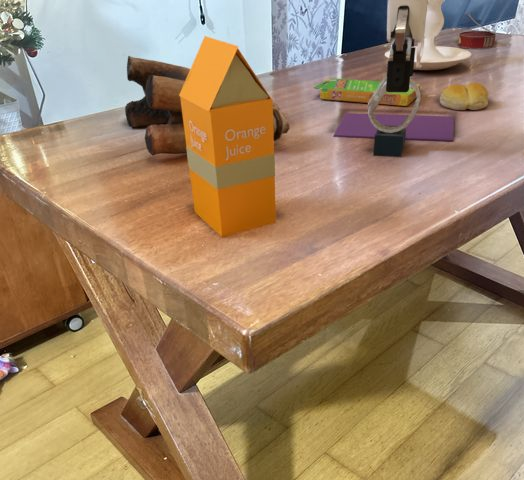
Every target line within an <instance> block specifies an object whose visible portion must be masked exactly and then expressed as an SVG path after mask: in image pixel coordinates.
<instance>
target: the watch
mask: <svg viewBox="0 0 524 480" xmlns="http://www.w3.org/2000/svg"><path fill="white" fill-rule="evenodd" d="M386 81H387V76H384V77H383V78H382V80H381V83H380V84H379V86H378V88H377V89H376V91H375V92H374V94H373V96H372V97H371V99H370V100H369V102H368V103H366V108H368V111H367V114H368V116H369V119H370V121H371V123H372V124H373V125H374V127H376V128H378V130H377V132H376V134H375V138H374V141H373V142H374V143H373V152H372V153H373V154H372V156H376V157H377V156H378V157H394V158H395V157H396V158H402V155H403V152H404V148H405V144H406V140H405V137H406V128H407V126H408V125H409V124H410V122H411V121H412V120H413V118H414V116H415V115H417V113H418V110H419V108H420V105H421V89H420V90H419V87H418V85H417V84H418V83H416V81H415V80H414V79H413V78H412V77H410V85H411V86H412V87H413V89H414V90H415V91H416V95H417V97H416V98H415V100H414V101H415V102H414V105H413V107H412V109H411V110H410V113H409V114H407V115H408V117H407V118H406V119H405V120H404V121H403V124H402V125H399V126H391V125H382V124H380V122H378V120H376V118H375V116H374V115H373V114H374V111H375V110H377V108H378V106H379V105H380V104H379V103H380V102H381V100H382V99H383V97H384V95H385V94H386V92H387V91H386Z"/></svg>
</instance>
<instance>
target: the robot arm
mask: <svg viewBox="0 0 524 480" xmlns="http://www.w3.org/2000/svg"><path fill="white" fill-rule="evenodd" d="M427 5H428V0H387V6H386V7H387V9H386V41H387V42H388V43H389V44H390V48H389V51H390V56H389V58H388V61H387V68H386V77H387V81H386V91H387V92H408V90H409V84H410V78H412V77H413V75H414V58H415V48H416V47H414V46H415V42H416V40H417V44H418V43H420V42H421V41H422V40H423V37H424V33H425V24H426V14H427ZM424 38H425V37H424Z"/></svg>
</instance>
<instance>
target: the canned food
mask: <svg viewBox="0 0 524 480" xmlns="http://www.w3.org/2000/svg"><path fill="white" fill-rule="evenodd" d="M466 14H467V15H468V17H469V19H471V20H472V21H473V22H474V23H475V24H476V25H477V26H479V27H480V28H481V29H483V30H472V31H471V30H469V31H463V32H460V33H459V36H458V40H457V42H458V43H457V48H460V49H468V50H485V49H490V48H494V46H495V42H496V36H497V33H496V32H494V31H492V30H490V29H488V28H486V27H485V26H483V25H481V24H480V23H478V22H477V21H476V20H475V19H474V18H473V17H472V15H471V13H470V12H469V11H466Z"/></svg>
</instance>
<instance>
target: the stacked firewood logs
mask: <svg viewBox="0 0 524 480" xmlns="http://www.w3.org/2000/svg"><path fill="white" fill-rule="evenodd" d="M190 69H191V68H189V67H186V66H182V65H177V64H173V63H167V62H163V61H159V60H154V59H148V58H147V59H146V58H140V57H134V56H130V55H128V57H127V61H126V77H127V79H126V80H127V81H128V82H134V83H136V84H137V85H139V86H140V87H141V88H142V91H143V93H144V96H143V97H142V98H141V99H138V100H131V101H129V102H128V103H126V105H125V107H124V114H125V118H126V122H127V125H128V126H129V127H131V128H135V127H146V129H145V134H144V141H145V146H146V150H147V152H148V153H149V154H150V155H151V156H157V155H160V154H168V155H169V154H170V155H178V154H179V155H180V154H187V150H186V139H185V131H184V123H183V115H182V107H181V99H180V96H179V94H180V92H181V90H182V87H183V85H184V83H185V81H186V78H187V76H188V74H189V71H190ZM273 131H274V142H275V141H278V140H280V139H281V137H282V136H283V135H284V134H288V132H289V131H290V122H289V121H288V120H286V118H285V117H284V115H283V113H282V112H281V107H280V106H279V105H278V104H277V103H275V102H273Z"/></svg>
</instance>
